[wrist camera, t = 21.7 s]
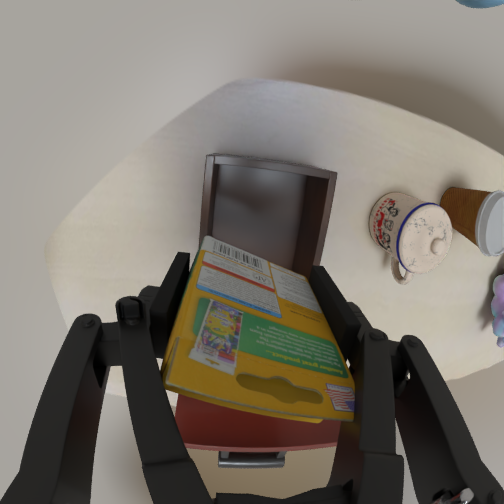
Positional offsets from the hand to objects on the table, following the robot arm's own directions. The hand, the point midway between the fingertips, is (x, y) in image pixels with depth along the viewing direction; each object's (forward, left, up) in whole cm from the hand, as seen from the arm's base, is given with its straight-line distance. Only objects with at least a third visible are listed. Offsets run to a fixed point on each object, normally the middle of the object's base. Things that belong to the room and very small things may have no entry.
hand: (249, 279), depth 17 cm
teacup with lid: (0, +22, -19) cm, 29 cm away
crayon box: (0, 0, -1) cm, 1 cm away
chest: (+1, +2, -19) cm, 19 cm away
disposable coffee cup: (-6, +34, -19) cm, 39 cm away
